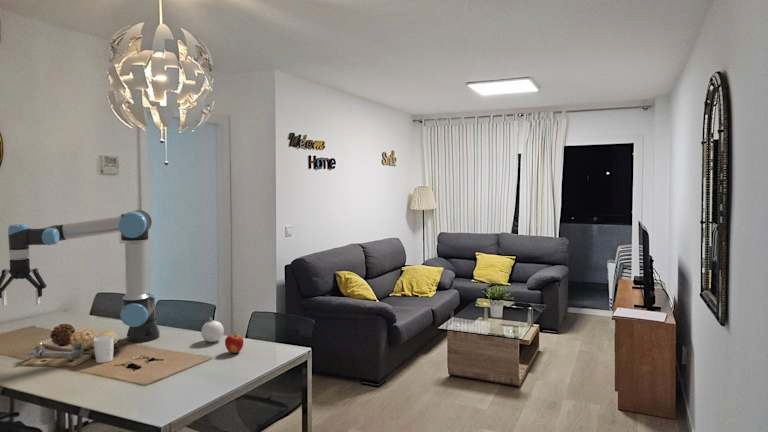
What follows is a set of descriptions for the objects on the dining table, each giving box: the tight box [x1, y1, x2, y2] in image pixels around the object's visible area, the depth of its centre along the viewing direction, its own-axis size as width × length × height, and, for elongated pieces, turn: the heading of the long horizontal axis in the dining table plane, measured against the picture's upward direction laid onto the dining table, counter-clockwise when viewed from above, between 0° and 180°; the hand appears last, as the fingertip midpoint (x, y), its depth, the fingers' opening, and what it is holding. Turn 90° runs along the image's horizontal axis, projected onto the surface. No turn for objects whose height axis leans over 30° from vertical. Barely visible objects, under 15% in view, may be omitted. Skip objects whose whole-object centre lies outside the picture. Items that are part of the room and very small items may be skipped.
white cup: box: [93, 335, 115, 364], centre depth 238 cm, size 8×8×10 cm
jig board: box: [22, 354, 91, 367], centre depth 237 cm, size 23×12×1 cm, turn 87°
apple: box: [224, 331, 244, 354], centre depth 248 cm, size 8×8×10 cm
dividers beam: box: [40, 342, 85, 361], centre depth 238 cm, size 20×8×6 cm, turn 87°
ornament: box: [201, 317, 225, 343], centre depth 265 cm, size 10×10×12 cm
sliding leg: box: [26, 341, 46, 360], centre depth 238 cm, size 3×8×6 cm, turn 177°
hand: (21, 304), depth 246 cm, fingers open, 13 cm apart
